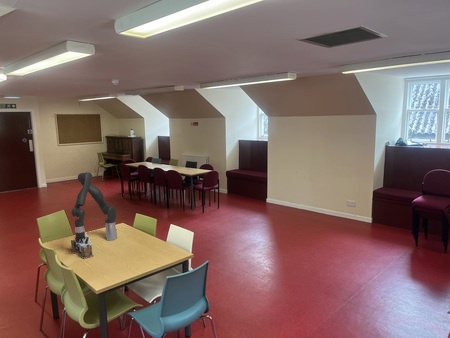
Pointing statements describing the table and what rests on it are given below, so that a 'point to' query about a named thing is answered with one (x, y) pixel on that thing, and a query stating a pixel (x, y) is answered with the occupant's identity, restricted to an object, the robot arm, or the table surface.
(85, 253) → the brown wooden block
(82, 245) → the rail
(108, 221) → the robot arm
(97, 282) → the table surface
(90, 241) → the decorative molding
